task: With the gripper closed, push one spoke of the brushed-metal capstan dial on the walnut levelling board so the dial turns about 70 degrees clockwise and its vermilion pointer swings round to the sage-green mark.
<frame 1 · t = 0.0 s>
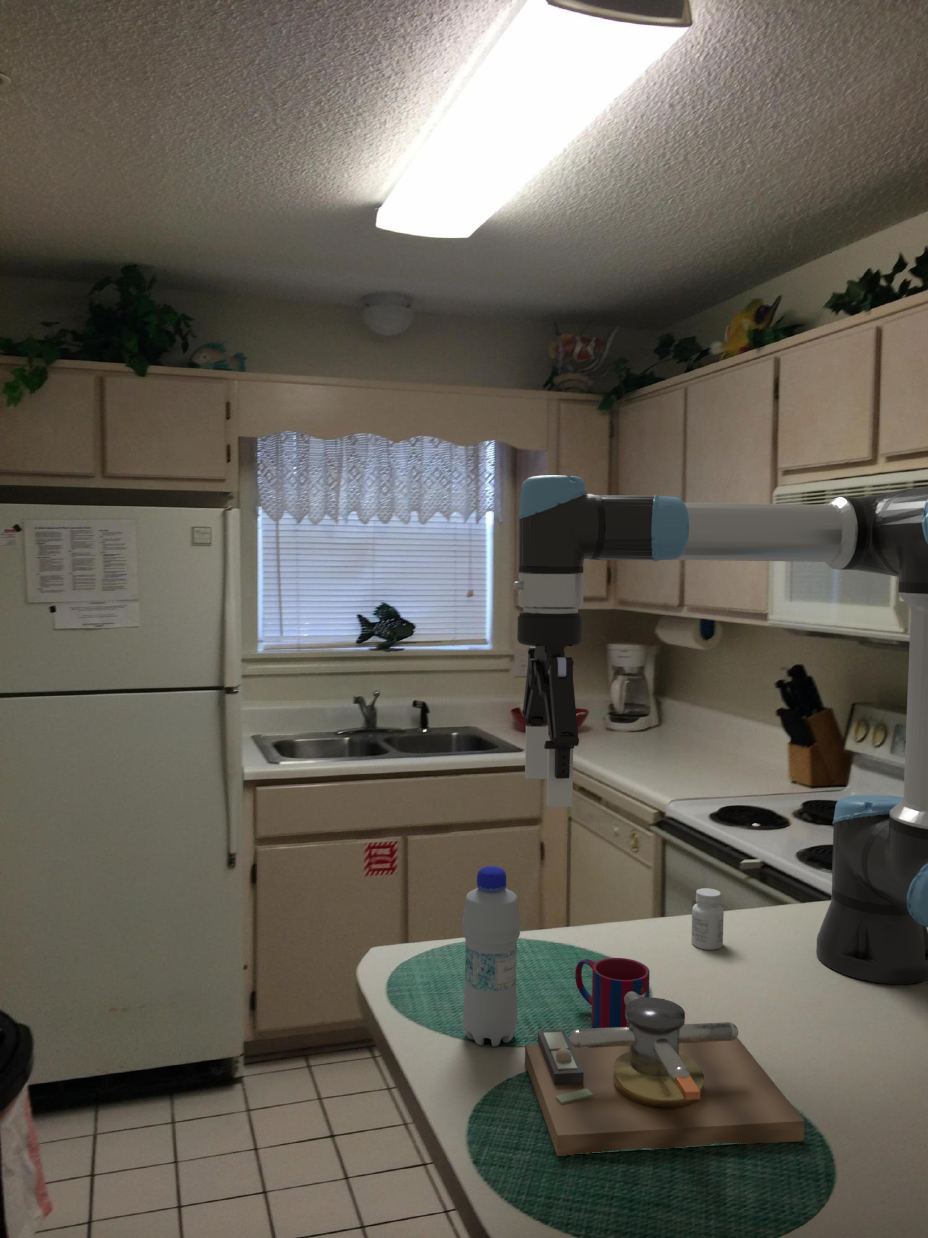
hand: (547, 791, 115), 28 cm above the worktop, fingers open, 13 cm apart
mug: (609, 1021, 118), on the worktop
bottle: (490, 1038, 113), on the worktop
capstan: (667, 1063, 97), point 6 cm above the worktop, hinge at 0.0°
pill bottle: (706, 946, 141), on the worktop
stand: (654, 1099, 101), on the worktop
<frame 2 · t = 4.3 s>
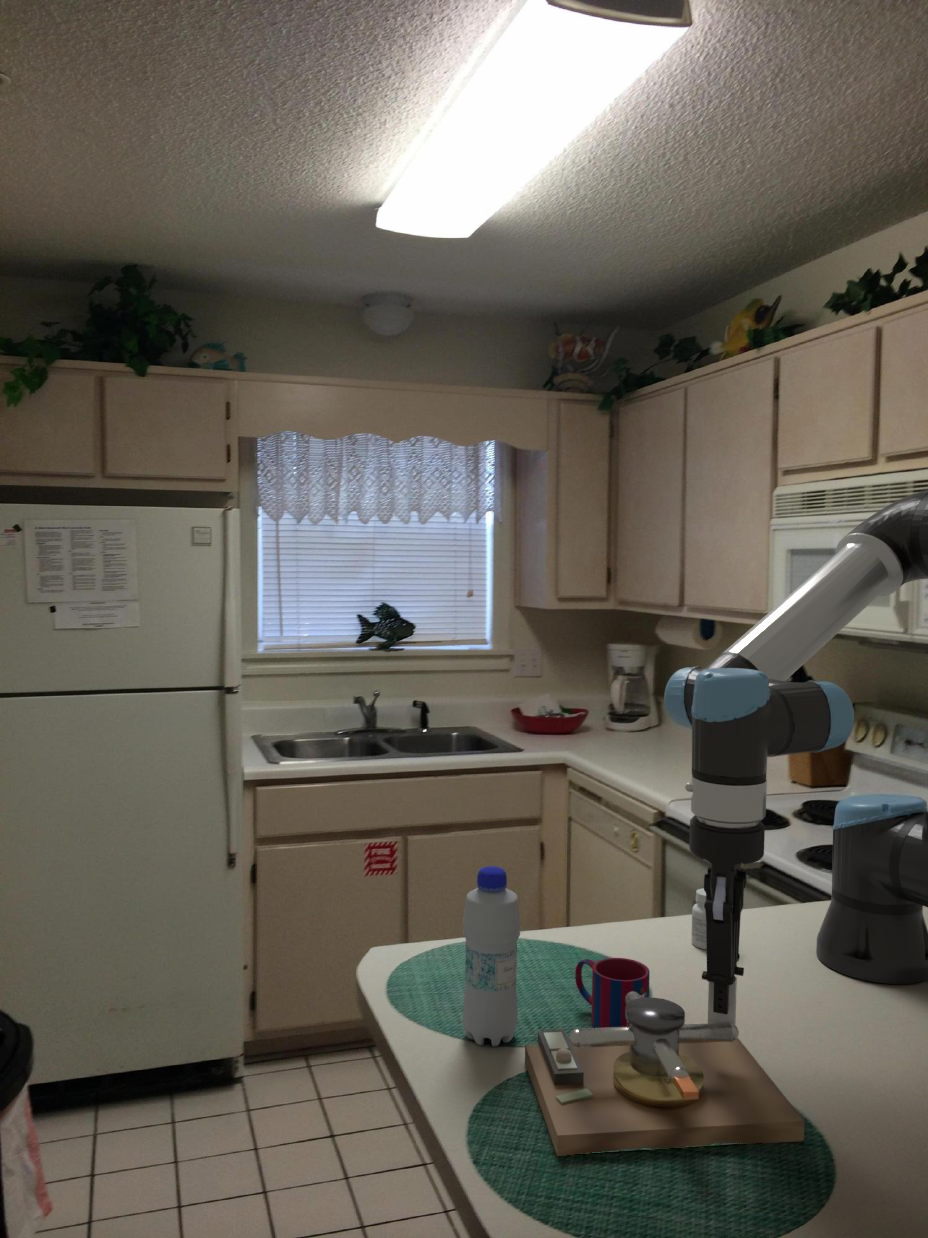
hand: (721, 1037, 104), 5 cm above the worktop, fingers closed
capstan: (666, 1063, 97), point 6 cm above the worktop, hinge at -0.9°, touching gripper
everything else where it was.
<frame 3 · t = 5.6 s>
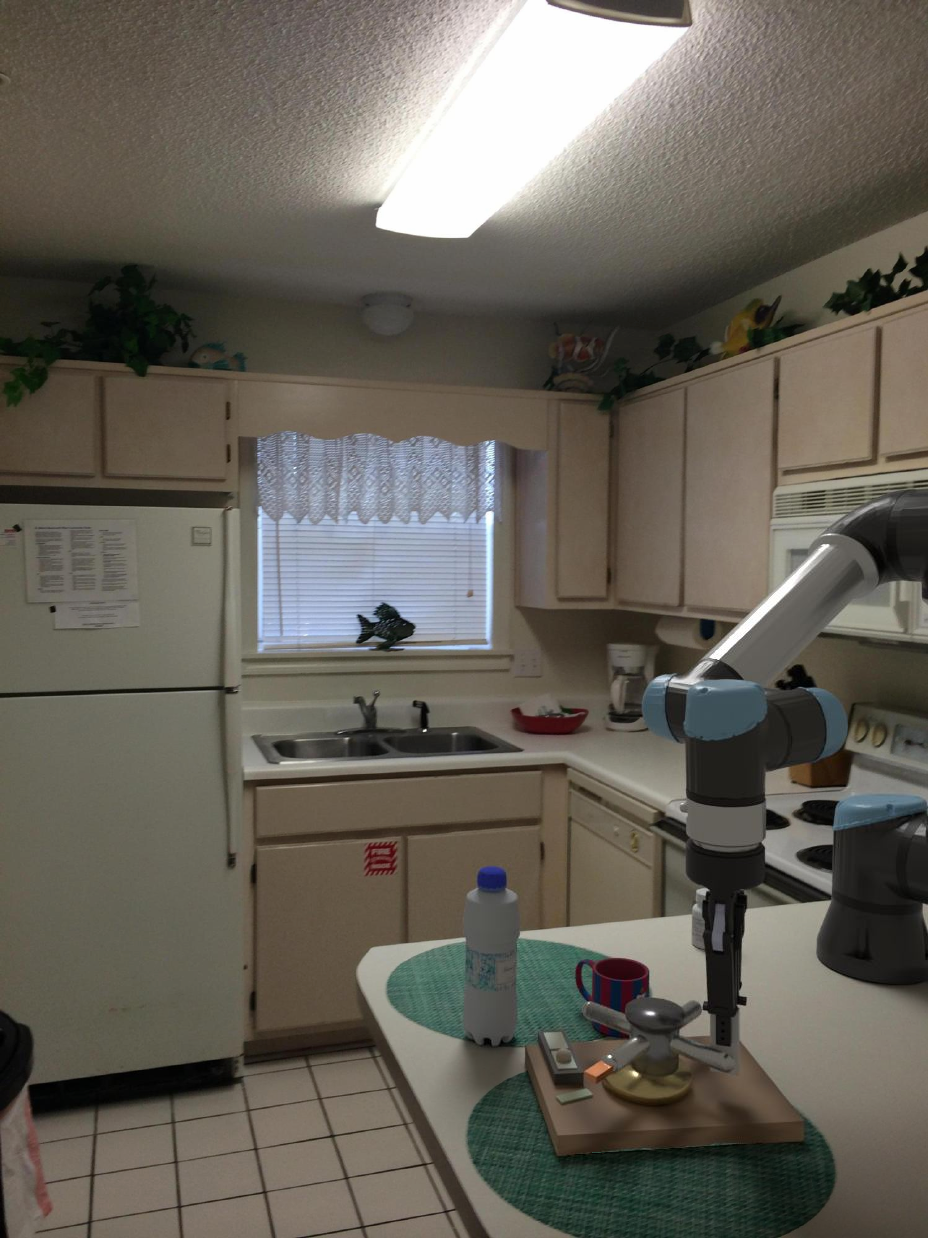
hand: (724, 1071, 98), 5 cm above the worktop, fingers closed
capstan: (631, 1058, 98), point 6 cm above the worktop, hinge at -49.2°, touching gripper
everything else where it was.
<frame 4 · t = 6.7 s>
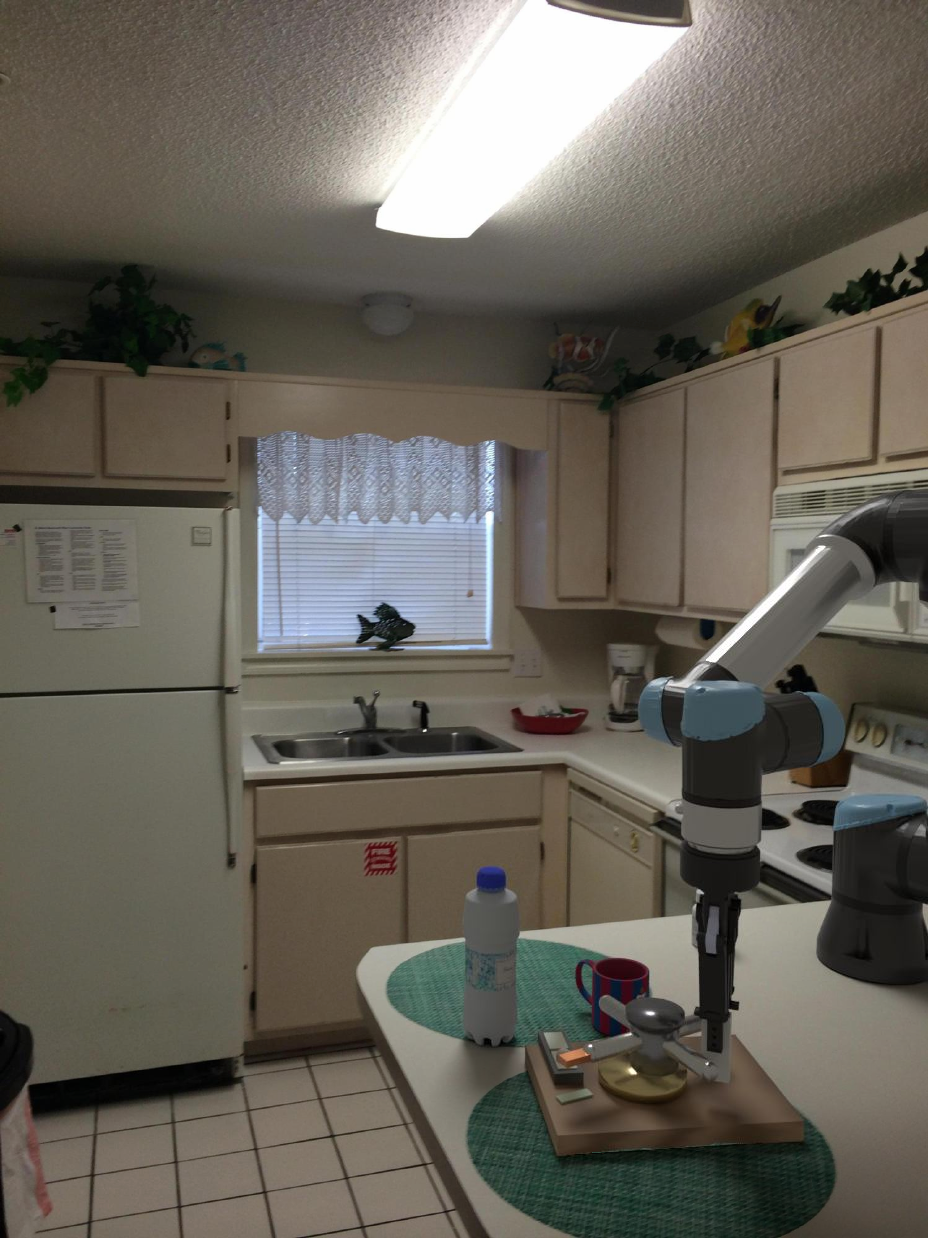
hand: (715, 1077, 97), 5 cm above the worktop, fingers closed
capstan: (621, 1052, 99), point 6 cm above the worktop, hinge at -67.9°, touching gripper
everything else where it was.
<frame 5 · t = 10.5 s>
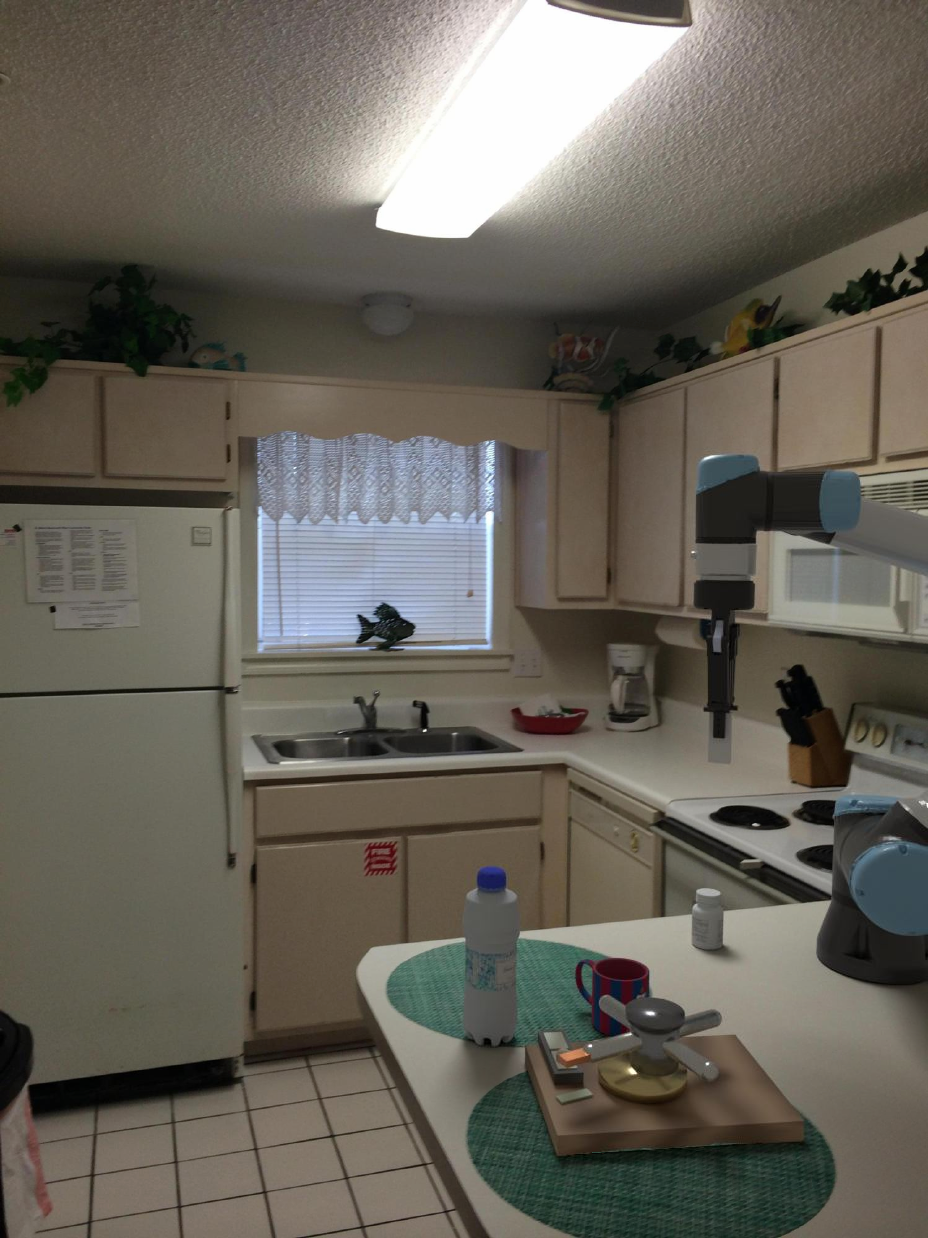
hand: (719, 761, 126), 29 cm above the worktop, fingers closed
capstan: (621, 1052, 99), point 6 cm above the worktop, hinge at -68.0°
everything else where it was.
at the end: capstan at -68° (first picture: +0°); capstan touching nothing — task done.
